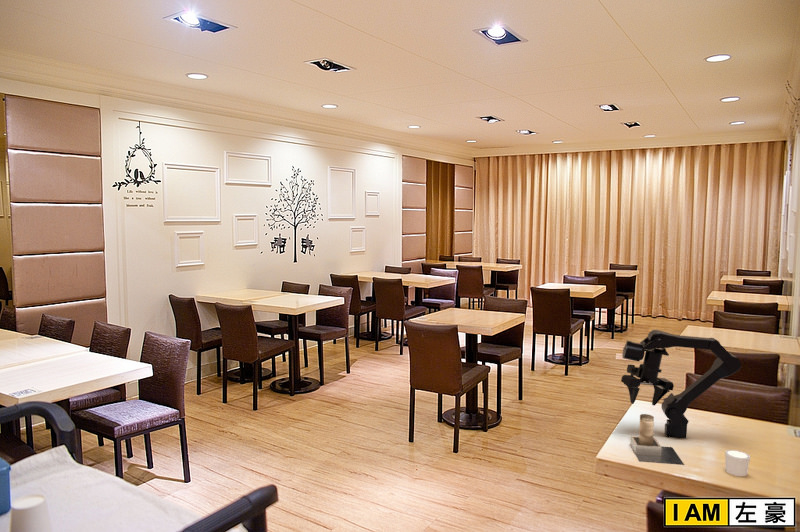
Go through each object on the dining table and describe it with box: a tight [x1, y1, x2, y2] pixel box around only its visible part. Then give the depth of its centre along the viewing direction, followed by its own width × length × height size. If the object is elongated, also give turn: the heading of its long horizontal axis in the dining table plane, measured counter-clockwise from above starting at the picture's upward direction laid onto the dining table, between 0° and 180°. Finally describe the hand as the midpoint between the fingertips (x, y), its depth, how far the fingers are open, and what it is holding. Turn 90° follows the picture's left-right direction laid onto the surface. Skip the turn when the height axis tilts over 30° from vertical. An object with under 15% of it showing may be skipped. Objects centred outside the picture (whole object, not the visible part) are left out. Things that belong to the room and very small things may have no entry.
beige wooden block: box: [638, 413, 655, 446], centre depth 193 cm, size 4×4×12 cm
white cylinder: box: [724, 449, 751, 478], centre depth 177 cm, size 7×7×7 cm
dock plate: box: [629, 435, 685, 466], centre depth 190 cm, size 14×14×4 cm
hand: (642, 404), depth 208 cm, fingers open, 9 cm apart
